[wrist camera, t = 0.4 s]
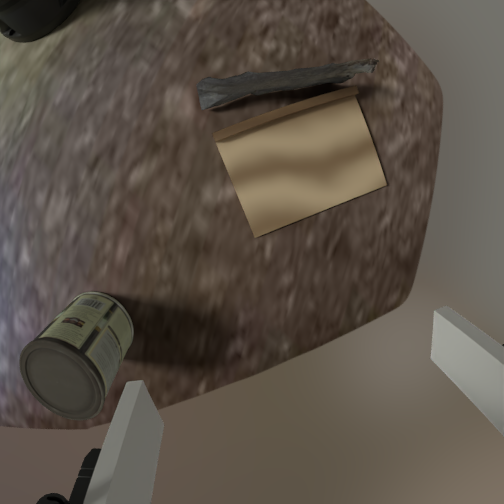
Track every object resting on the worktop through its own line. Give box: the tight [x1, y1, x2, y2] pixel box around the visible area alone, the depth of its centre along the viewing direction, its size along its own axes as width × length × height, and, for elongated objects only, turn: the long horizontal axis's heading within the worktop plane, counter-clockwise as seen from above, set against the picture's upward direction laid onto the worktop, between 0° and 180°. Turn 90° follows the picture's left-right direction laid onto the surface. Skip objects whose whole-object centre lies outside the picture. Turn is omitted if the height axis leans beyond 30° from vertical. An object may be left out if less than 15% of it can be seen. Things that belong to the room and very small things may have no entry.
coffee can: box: [20, 292, 134, 420], centre depth 34 cm, size 10×10×14 cm
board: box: [212, 86, 387, 238], centre depth 36 cm, size 13×18×2 cm
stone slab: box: [196, 59, 379, 110], centre depth 30 cm, size 18×2×10 cm, turn 103°
